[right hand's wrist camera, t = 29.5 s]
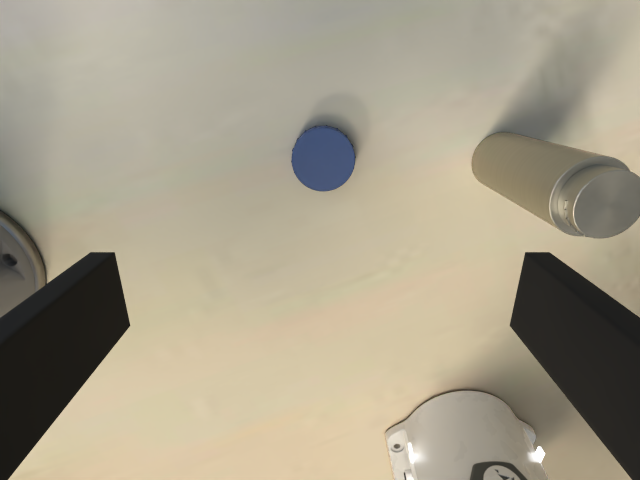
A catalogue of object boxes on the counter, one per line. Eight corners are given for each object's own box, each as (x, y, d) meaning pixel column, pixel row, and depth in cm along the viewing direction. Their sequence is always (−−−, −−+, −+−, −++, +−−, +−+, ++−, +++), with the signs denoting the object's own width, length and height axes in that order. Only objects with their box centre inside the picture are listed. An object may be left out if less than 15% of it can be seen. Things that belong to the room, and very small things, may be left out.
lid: (357, 128, 36) (359, 130, 34) (349, 190, 38) (350, 195, 36) (295, 121, 36) (294, 123, 34) (290, 184, 38) (288, 188, 36)
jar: (470, 189, 38) (559, 249, 24) (472, 134, 36) (570, 165, 22) (524, 184, 38) (645, 242, 24) (529, 129, 36) (665, 157, 22)
